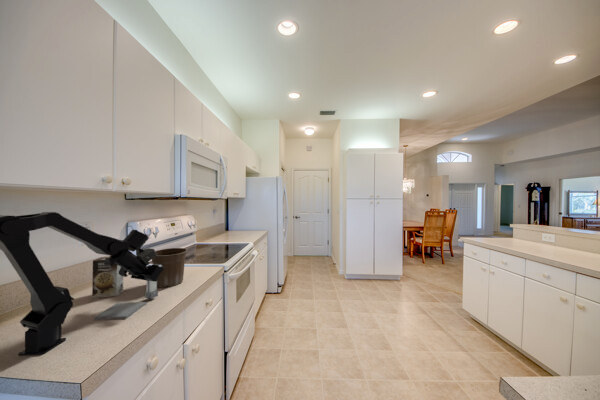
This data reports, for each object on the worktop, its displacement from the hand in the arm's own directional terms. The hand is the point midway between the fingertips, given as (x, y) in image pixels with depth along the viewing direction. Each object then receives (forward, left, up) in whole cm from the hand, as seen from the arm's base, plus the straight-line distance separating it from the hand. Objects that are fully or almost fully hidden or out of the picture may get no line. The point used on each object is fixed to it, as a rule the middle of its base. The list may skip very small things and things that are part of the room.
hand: (154, 280), depth 94 cm
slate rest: (-11, +6, -8) cm, 15 cm away
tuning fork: (-1, +1, -7) cm, 7 cm away
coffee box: (+5, +23, -8) cm, 24 cm away
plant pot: (+17, +3, -8) cm, 19 cm away
